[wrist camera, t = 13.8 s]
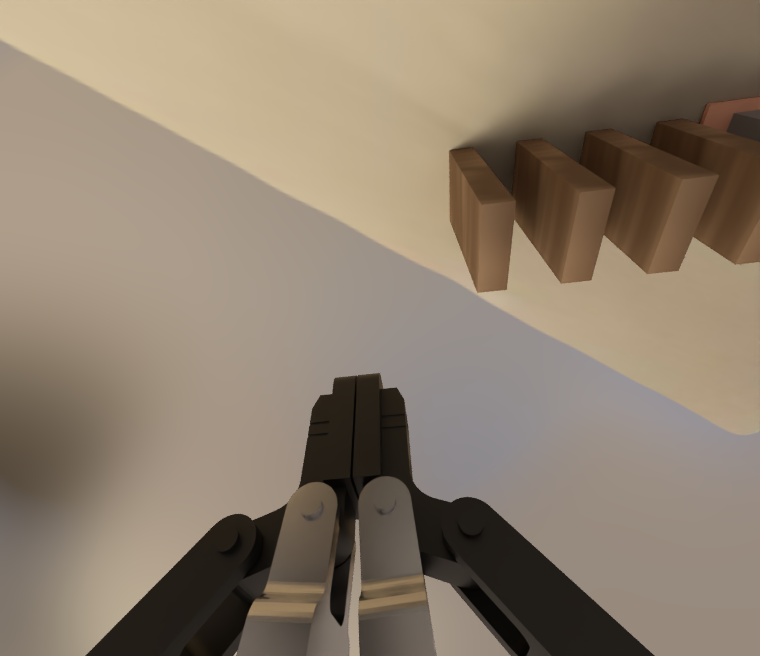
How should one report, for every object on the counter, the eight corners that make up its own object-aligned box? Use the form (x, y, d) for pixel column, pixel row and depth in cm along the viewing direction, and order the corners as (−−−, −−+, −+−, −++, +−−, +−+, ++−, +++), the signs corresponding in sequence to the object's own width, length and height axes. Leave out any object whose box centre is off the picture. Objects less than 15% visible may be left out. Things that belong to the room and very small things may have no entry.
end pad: (671, 202, 28) (673, 203, 28) (707, 103, 24) (710, 104, 24) (742, 193, 28) (745, 195, 27) (790, 92, 24) (794, 93, 23)
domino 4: (634, 197, 28) (735, 264, 20) (656, 122, 25) (787, 166, 17) (656, 195, 28) (767, 261, 20) (682, 118, 24) (825, 161, 17)
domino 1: (449, 220, 29) (477, 292, 21) (449, 150, 26) (481, 205, 18) (471, 218, 29) (506, 289, 21) (473, 147, 25) (515, 200, 18)
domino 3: (571, 205, 28) (647, 274, 20) (585, 132, 25) (682, 179, 17) (593, 202, 28) (678, 270, 20) (610, 128, 25) (719, 175, 17)
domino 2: (509, 213, 28) (561, 283, 21) (516, 141, 25) (580, 192, 17) (531, 210, 28) (591, 280, 20) (541, 138, 25) (615, 188, 17)
